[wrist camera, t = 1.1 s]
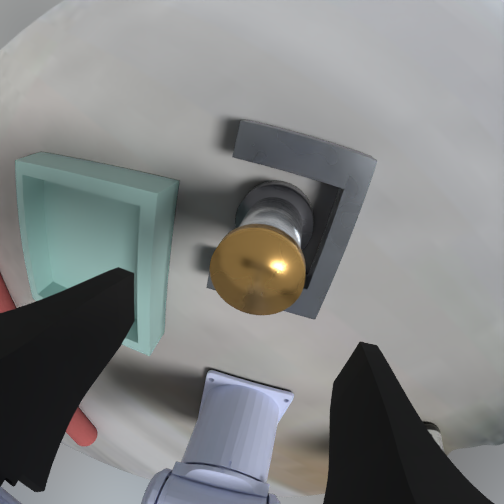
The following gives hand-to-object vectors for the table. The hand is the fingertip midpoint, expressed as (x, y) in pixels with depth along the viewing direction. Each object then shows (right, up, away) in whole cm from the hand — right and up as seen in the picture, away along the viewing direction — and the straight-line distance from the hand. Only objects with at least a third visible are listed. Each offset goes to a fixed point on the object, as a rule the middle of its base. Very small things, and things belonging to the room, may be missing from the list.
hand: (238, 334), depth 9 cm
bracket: (+2, +5, +9) cm, 11 cm away
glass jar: (+2, +5, +9) cm, 11 cm away
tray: (-12, +3, +13) cm, 18 cm away
